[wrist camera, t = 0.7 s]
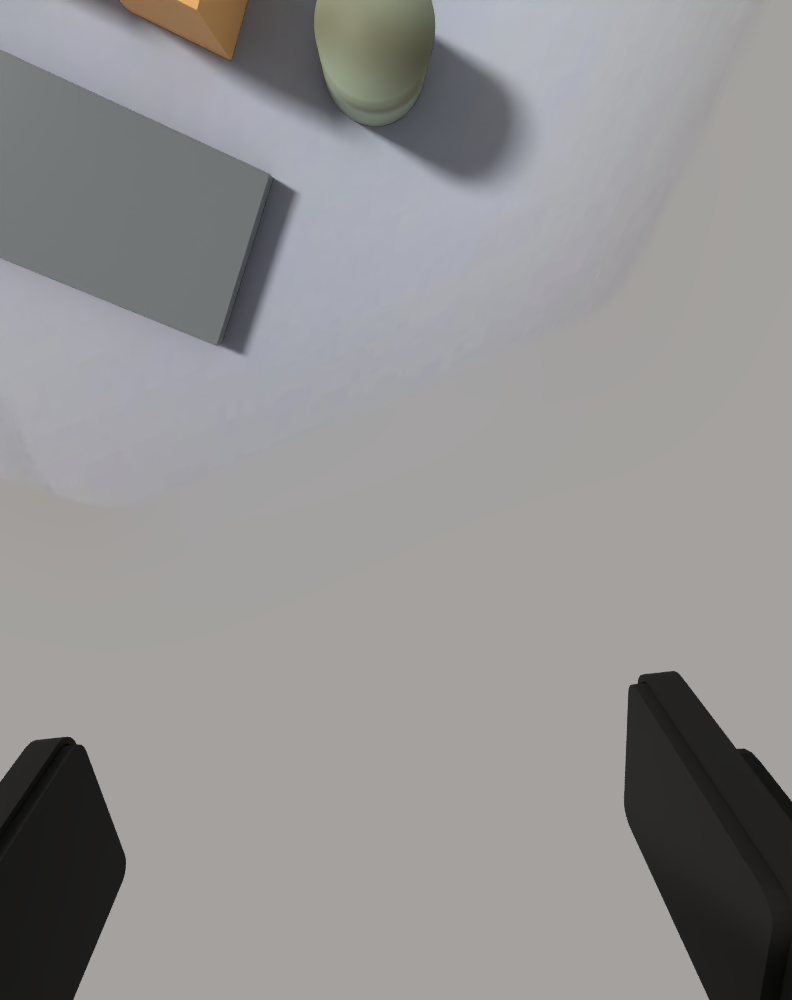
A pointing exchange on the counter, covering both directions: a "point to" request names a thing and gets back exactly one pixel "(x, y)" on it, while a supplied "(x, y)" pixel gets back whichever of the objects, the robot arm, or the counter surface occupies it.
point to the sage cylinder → (374, 55)
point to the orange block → (196, 20)
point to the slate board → (122, 203)
